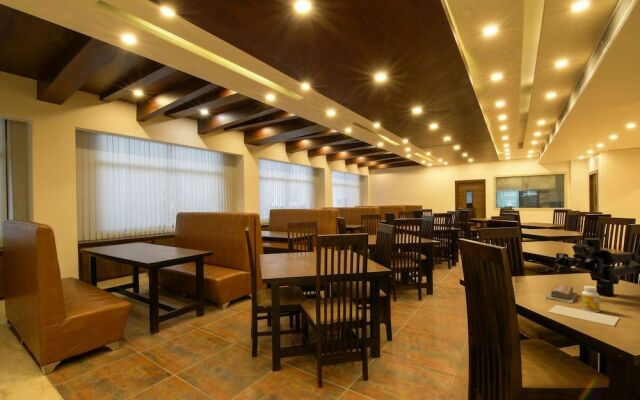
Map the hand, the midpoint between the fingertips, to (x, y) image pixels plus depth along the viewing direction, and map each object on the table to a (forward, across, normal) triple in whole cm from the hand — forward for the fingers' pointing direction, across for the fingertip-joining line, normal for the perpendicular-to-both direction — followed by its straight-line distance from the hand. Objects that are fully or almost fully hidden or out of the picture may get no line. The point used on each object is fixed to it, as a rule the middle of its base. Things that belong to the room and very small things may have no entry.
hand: (564, 264), depth 140 cm
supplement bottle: (+4, +13, +17) cm, 21 cm away
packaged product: (-3, -4, +17) cm, 18 cm away
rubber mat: (+14, +16, +16) cm, 26 cm away
